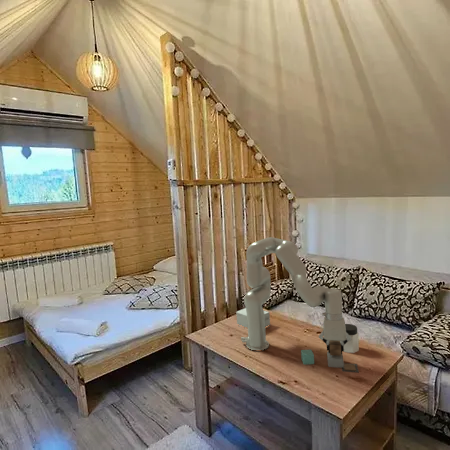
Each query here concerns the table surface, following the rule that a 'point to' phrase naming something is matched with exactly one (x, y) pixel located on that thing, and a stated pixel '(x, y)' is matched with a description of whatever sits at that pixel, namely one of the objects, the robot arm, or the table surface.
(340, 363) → the grey base block
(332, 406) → the table surface
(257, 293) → the robot arm
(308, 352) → the teal cube
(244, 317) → the supplement box
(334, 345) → the walnut cube
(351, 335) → the jar
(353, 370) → the swatch
